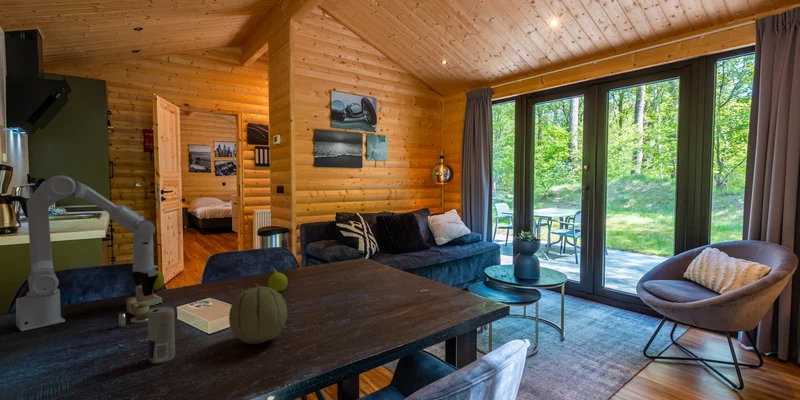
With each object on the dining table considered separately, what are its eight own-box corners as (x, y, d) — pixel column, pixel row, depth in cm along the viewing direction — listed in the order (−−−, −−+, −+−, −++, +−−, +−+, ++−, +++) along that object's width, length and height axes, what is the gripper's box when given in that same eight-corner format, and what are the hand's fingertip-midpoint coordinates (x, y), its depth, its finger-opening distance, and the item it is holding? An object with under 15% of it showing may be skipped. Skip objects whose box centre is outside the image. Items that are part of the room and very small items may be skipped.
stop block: (140, 305, 128) (139, 288, 127) (136, 303, 130) (135, 286, 130) (153, 302, 131) (153, 285, 131) (149, 300, 133) (148, 283, 133)
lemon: (167, 289, 149) (167, 268, 149) (157, 293, 144) (157, 272, 143) (154, 288, 150) (154, 268, 149) (144, 292, 144) (143, 271, 144)
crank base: (120, 328, 109) (120, 315, 109) (113, 323, 113) (113, 311, 112) (157, 319, 117) (157, 307, 116) (149, 314, 120) (149, 303, 120)
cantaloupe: (252, 359, 91) (252, 297, 90) (216, 344, 98) (215, 287, 98) (299, 337, 103) (299, 283, 103) (264, 326, 111) (263, 276, 110)
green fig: (268, 289, 150) (268, 264, 149) (287, 288, 152) (287, 263, 151) (268, 294, 143) (268, 268, 142) (287, 293, 145) (287, 267, 145)
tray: (135, 309, 125) (135, 303, 125) (126, 304, 130) (126, 299, 130) (162, 303, 131) (162, 297, 131) (153, 299, 136) (152, 293, 136)
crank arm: (151, 316, 116) (151, 303, 116) (137, 319, 113) (137, 306, 113) (136, 308, 124) (136, 296, 123) (123, 311, 121) (123, 299, 121)
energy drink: (156, 354, 93) (155, 305, 92) (179, 353, 93) (178, 305, 93) (143, 364, 88) (142, 313, 87) (167, 363, 88) (166, 312, 87)
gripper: (165, 255, 128) (166, 295, 129) (148, 250, 137) (149, 287, 138) (141, 258, 123) (142, 300, 123) (125, 253, 132) (126, 292, 132)
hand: (144, 293), depth 130 cm, fingers open, 5 cm apart
